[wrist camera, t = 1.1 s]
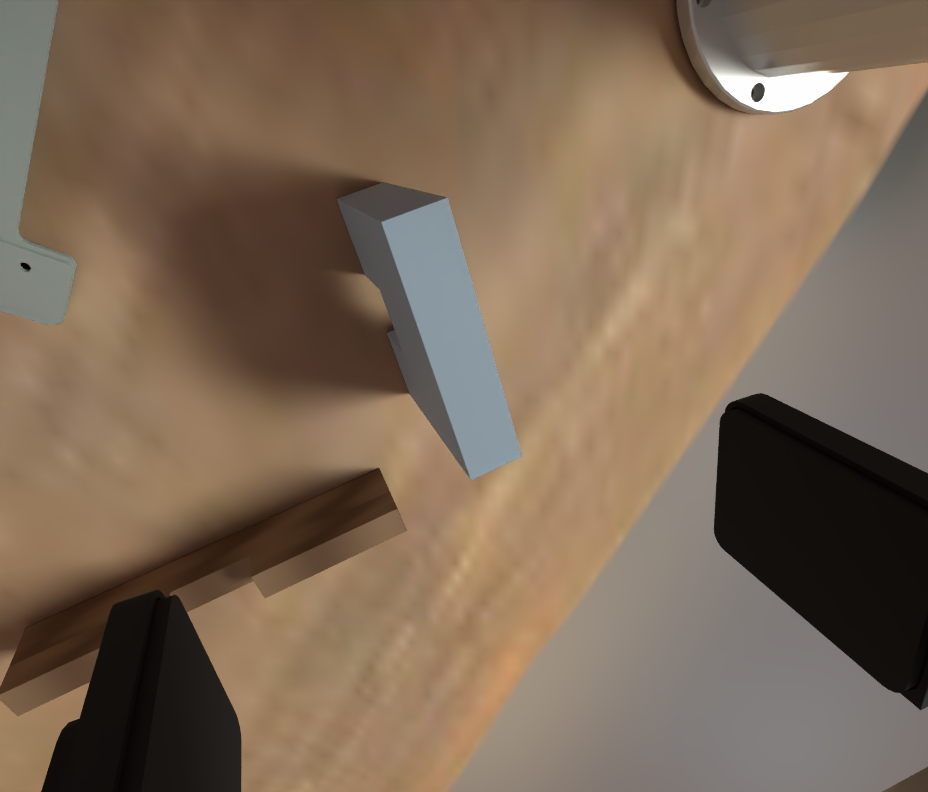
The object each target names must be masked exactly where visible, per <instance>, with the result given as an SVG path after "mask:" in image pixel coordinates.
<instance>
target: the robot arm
mask: <svg viewBox="0 0 928 792" xmlns="http://www.w3.org/2000/svg"><path fill="white" fill-rule="evenodd" d="M676 3H677V15H678V20H679V25H680V30H681V35H682V39H683V43H684V45H685V48H686V50H687V53H688V56H689V58H690V61H691V64H692V66H693V67H694V69H695V70H696V72H697V74H698V75H699V77H700V79H701V80H702V82H703V84H704V85H705V86H706V87H707V88H708V89H709V90H710V91H711V92H712V93H713V94H714V95H715V96H716V97H717V98H718V99H719V100H720V101H722V102H724V103H725V104H727V105H729V106H730V107H732V108H733V109H736V110H739V111H743V112H746V113H749V114H778V113H786V112H792V111H795V110H797V109H800V108H803V107H805V106H808V105H810V104H812V103H813V102H815V101H816V100H818V99H819V98H821V97H823V96H824V95H826V94H827V93H828V92H829V91H831V90H832V89H833V88H834V87H835V86H836V85H837V84H838V83H839V82H840V81H841V80H842V79H843V78H845V76H846V75H847V74H848V73H849V72H851V71H859V70H867V69H876V68H884V67H892V66H900V65H908V64H917V63H925V62H928V0H676ZM714 534H715V537H716V539H717V541H718V543H719V545H720V546H721V547H722V548H723V549H724V550H725V551H726V552H727V553H728V554H729V555H731V556H732V557H733V558H734V559H735V560H736V561H737V562H739V563H740V564H741V565H742V566H743V567H745V568H746V569H747V570H748V571H749V572H750V573H752V574H753V575H754V576H755V577H756V578H757V579H759V580H760V581H761V582H762V583H763V584H765V585H766V586H767V587H768V588H769V589H770V590H772V591H773V592H774V593H775V594H776V595H777V596H779V597H780V598H781V599H782V600H783V601H784V602H786V603H787V604H788V605H789V606H790V607H792V608H793V609H794V610H795V611H796V612H797V613H798V614H800V615H801V616H802V617H803V618H804V619H805V620H807V621H808V622H809V623H810V624H811V625H813V626H814V627H815V628H816V629H817V630H818V631H819V632H821V633H822V634H823V635H824V636H825V637H826V638H828V639H829V640H830V641H831V642H832V643H834V644H835V645H836V646H837V647H838V648H839V649H841V650H842V651H843V652H844V653H845V654H846V655H848V656H849V657H850V658H851V659H852V660H854V661H855V662H856V663H857V664H858V665H859V666H861V667H862V668H863V669H864V670H865V671H866V672H867V673H869V674H870V675H871V676H872V677H873V678H874V679H876V680H877V681H878V682H879V683H880V684H882V685H883V686H884V687H886V688H887V689H888V690H891V691H893V692H897V693H901V694H902V695H903V696H904V697H906V698H907V699H908V700H909V701H910V702H912V703H913V704H914V705H915V706H916V707H917V708H919V709H920V710H922V709H924V708H926V707H928V473H926V472H924V471H922V470H920V469H918V468H916V467H913V466H912V465H909V464H907V463H905V462H903V461H901V460H899V459H897V458H895V457H893V456H891V455H889V454H887V453H885V452H883V451H881V450H879V449H876V448H875V447H873V446H871V445H868V444H866V443H864V442H862V441H860V440H858V439H856V438H854V437H852V436H850V435H848V434H846V433H844V432H842V431H840V430H838V429H836V428H834V427H831V426H829V425H827V424H825V423H823V422H821V421H819V420H817V419H815V418H813V417H811V416H809V415H807V414H805V413H803V412H801V411H799V410H797V409H795V408H793V407H791V406H788V405H787V404H784V403H782V402H780V401H778V400H776V399H774V398H772V397H770V396H768V395H765V394H762V393H760V394H754V395H751V396H748V397H745V398H742V399H739V400H736V401H733V402H731V403H729V404H728V405H727V407H726V409H725V413H724V414H723V415H722V416H721V419H720V428H719V447H718V465H717V483H716V502H715V519H714ZM41 792H241V731H240V726H239V721H238V718H237V715H236V713H235V711H234V709H233V706H232V704H231V702H230V700H229V698H228V696H227V694H226V692H225V690H224V688H223V686H222V684H221V682H220V680H219V678H218V676H217V674H216V672H215V670H214V667H213V665H212V663H211V661H210V659H209V657H208V655H207V653H206V651H205V649H204V647H203V645H202V643H201V641H200V639H199V637H198V635H197V633H196V630H195V628H194V626H193V624H192V622H191V620H190V618H189V616H188V614H187V612H186V610H185V608H184V606H183V604H182V602H181V600H180V598H179V597H178V596H177V595H172V596H169V597H166V598H165V596H164V594H163V593H162V592H161V591H160V590H154V591H151V592H148V593H145V594H142V595H139V596H136V597H133V598H130V599H127V600H124V601H120V602H117V603H115V604H114V605H113V606H112V608H111V610H110V614H109V617H108V621H107V624H106V628H105V631H104V635H103V638H102V642H101V645H100V649H99V652H98V656H97V659H96V663H95V666H94V670H93V673H92V677H91V681H90V684H89V688H88V691H87V695H86V698H85V702H84V705H83V709H82V712H81V716H80V719H77V720H75V721H72V722H69V723H68V724H67V725H66V726H65V727H64V728H63V730H62V731H61V733H60V736H59V738H58V740H57V743H56V746H55V749H54V752H53V755H52V759H51V762H50V765H49V768H48V771H47V775H46V778H45V781H44V784H43V788H42V791H41ZM883 792H928V767H927V768H925V769H923V770H921V771H920V772H918V773H916V774H914V775H912V776H910V777H909V778H907V779H905V780H903V781H901V782H899V783H897V784H896V785H894V786H892V787H890V788H888V789H886V790H885V791H883Z"/></svg>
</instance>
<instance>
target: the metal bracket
mask: <svg viewBox="0 0 928 792" xmlns="http://www.w3.org/2000/svg"><path fill="white" fill-rule="evenodd" d="M58 1H59V0H0V311H2V312H5V313H9V314H12V315H15V316H19V317H22V318H25V319H29V320H32V321H35V322H39V323H42V324H45V325H47V324H59V323H61V322H62V321H63V319H64V317H65V314H66V310H67V305H68V301H69V297H70V293H71V288H72V284H73V280H74V276H75V271H76V267H77V265H76V261H75V260H74V259H73V258H72V257H71V256H69V255H67V254H64V253H61V252H58V251H55V250H52V249H49V248H47V247H44V246H41V245H38V244H35V243H32V242H29V241H27V240H25V239H24V238H22V236H21V235H20V234H19V229H18V228H19V222H20V217H21V211H22V205H23V200H24V194H25V188H26V183H27V177H28V171H29V166H30V160H31V154H32V149H33V143H34V137H35V132H36V126H37V120H38V115H39V109H40V103H41V98H42V92H43V86H44V81H45V75H46V69H47V64H48V58H49V52H50V47H51V41H52V35H53V30H54V24H55V18H56V13H57V7H58ZM22 262H23V263H27V264H29V266H30V267H31V269H30V270H26V269H24V268H22V266H21V264H20V263H22Z"/></svg>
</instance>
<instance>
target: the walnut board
mask: <svg viewBox="0 0 928 792" xmlns="http://www.w3.org/2000/svg"><path fill="white" fill-rule="evenodd" d="M405 531H407V529H406V527H405V525H404V523H403V520H402V518H401V516H400V513H399V511H398V509H397V507H396V504H395V502H394V500H393V498H392V495H391V493H390V491H389V489H388V487H387V484H386V482H385V480H384V478H383V476H382V473H381V471H380V469H377V470H374V471H372V472H370V473H368V474H365V475H363V476H361V477H359V478H357V479H354V480H352V481H350V482H348V483H345V484H343V485H341V486H339V487H337V488H334V489H332V490H330V491H328V492H326V493H323V494H321V495H319V496H317V497H314V498H312V499H310V500H308V501H306V502H303V503H301V504H299V505H297V506H295V507H292V508H290V509H288V510H286V511H283V512H281V513H279V514H277V515H275V516H272V517H270V518H268V519H266V520H264V521H261V522H259V523H257V524H255V525H252V526H250V527H248V528H246V529H244V530H241V531H239V532H237V533H235V534H233V535H230V536H228V537H226V538H224V539H221V540H219V541H217V542H215V543H213V544H210V545H208V546H206V547H204V548H202V549H199V550H197V551H195V552H193V553H190V554H188V555H186V556H184V557H182V558H179V559H177V560H175V561H173V562H171V563H168V564H166V565H164V566H162V567H159V568H157V569H155V570H153V571H151V572H148V573H146V574H144V575H142V576H140V577H137V578H135V579H133V580H131V581H128V582H126V583H124V584H122V585H120V586H117V587H115V588H113V589H111V590H109V591H106V592H104V593H102V594H100V595H97V596H95V597H93V598H91V599H89V600H86V601H84V602H82V603H80V604H78V605H75V606H73V607H71V608H69V609H66V610H64V611H62V612H60V613H58V614H55V615H53V616H51V617H49V618H47V619H44V620H42V621H40V622H38V623H35V624H33V625H31V626H29V627H27V628H26V629H25V631H24V634H23V636H22V638H21V641H20V643H19V645H18V648H17V650H16V652H15V654H14V657H13V659H12V661H11V664H10V666H9V668H8V671H7V673H6V675H5V678H4V680H3V682H2V685H1V687H0V700H1V701H2V702H3V703H4V704H5V705H6V706H7V707H8V708H9V709H10V710H11V711H12V712H14V713H15V714H16V715H17V716H19V715H22V714H24V713H26V712H28V711H30V710H32V709H34V708H36V707H38V706H40V705H42V704H45V703H47V702H49V701H51V700H53V699H55V698H57V697H59V696H61V695H63V694H66V693H68V692H70V691H72V690H74V689H76V688H78V687H80V686H82V685H84V684H86V683H89V682H90V681H91V677H92V673H93V670H94V666H95V663H96V659H97V656H98V652H99V649H100V645H101V642H102V638H103V635H104V631H105V628H106V624H107V621H108V617H109V614H110V610H111V608H112V606H113V605H114V604H115V603H117V602H120V601H124V600H127V599H130V598H133V597H136V596H139V595H142V594H145V593H148V592H151V591H154V590H160V591H161V592H162V593H163V594H164V596H165V598H166V597H169V596H172V595H177V596H178V597H179V598H180V600H181V602H182V604H183V606H184V608H185V610H186V612H188V611H190V610H193V609H195V608H197V607H199V606H201V605H203V604H205V603H208V602H210V601H212V600H214V599H216V598H218V597H220V596H222V595H225V594H227V593H229V592H231V591H233V590H235V589H237V588H239V587H242V586H244V585H246V584H248V583H250V582H252V581H254V582H255V584H256V585H257V587H258V588H259V590H260V591H261V593H262V595H263V596H264V598H267V597H269V596H271V595H273V594H275V593H277V592H279V591H281V590H283V589H286V588H288V587H290V586H292V585H294V584H296V583H298V582H300V581H302V580H304V579H307V578H309V577H311V576H313V575H315V574H317V573H319V572H321V571H323V570H325V569H327V568H330V567H332V566H334V565H336V564H338V563H340V562H342V561H344V560H346V559H348V558H351V557H353V556H355V555H357V554H359V553H361V552H363V551H365V550H367V549H369V548H372V547H374V546H376V545H378V544H380V543H382V542H384V541H386V540H388V539H390V538H392V537H395V536H397V535H399V534H401V533H403V532H405Z"/></svg>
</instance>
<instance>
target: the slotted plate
mask: <svg viewBox="0 0 928 792" xmlns="http://www.w3.org/2000/svg"><path fill="white" fill-rule="evenodd" d="M336 200H337V203H338V205H339V208H340V211H341V213H342V216H343V218H344V221H345V224H346V226H347V229H348V232H349V234H350V237H351V240H352V242H353V245H354V248H355V250H356V253H357V256H358V258H359V261H360V264H361V266H362V269H363V272H364V274H365V276H366V277H367V278H369V279H370V280H371V281H372V282H373V283H374V284H375V285H376V286H377V287H378V288H379V289H380V292H381V294H382V297H383V300H384V303H385V305H386V308H387V311H388V313H389V316H390V319H391V322H392V324H393V327H394V330H393V331H390V332H388V333H387V335H388V338H389V341H390V343H391V346H392V348H393V351H394V354H395V356H396V359H397V362H398V364H399V367H400V370H401V372H402V375H403V378H404V380H405V383H406V386H407V388H408V391H409V394H410V395H411V397H412V398H413V399H414V401H415V402H416V404H417V405H418V406H419V408H420V409H421V411H422V412H423V413H424V415H425V416H426V418H427V419H428V420H429V422H430V423H431V425H432V426H433V428H434V429H435V430H436V432H437V433H438V435H439V436H440V437H441V439H442V440H443V442H444V443H445V444H446V446H447V447H448V449H449V450H450V451H451V453H452V454H453V456H454V457H455V459H456V460H457V461H458V463H459V464H460V466H461V467H462V468H463V470H464V471H465V473H466V474H467V475H468V477H469V478H470V480H473V479H475V478H477V477H479V476H482V475H484V474H486V473H488V472H490V471H492V470H494V469H496V468H499V467H501V466H503V465H505V464H507V463H509V462H511V461H513V460H516V459H518V458H520V457H522V454H521V450H520V447H519V443H518V440H517V436H516V433H515V430H514V426H513V423H512V419H511V416H510V412H509V409H508V405H507V402H506V398H505V395H504V391H503V388H502V384H501V381H500V377H499V374H498V371H497V367H496V364H495V360H494V357H493V353H492V350H491V346H490V343H489V339H488V336H487V332H486V329H485V325H484V322H483V318H482V315H481V312H480V308H479V305H478V301H477V298H476V294H475V291H474V287H473V284H472V280H471V277H470V273H469V270H468V266H467V263H466V259H465V256H464V253H463V249H462V246H461V242H460V239H459V235H458V232H457V228H456V225H455V221H454V218H453V214H452V211H451V207H450V204H449V201H448V198H447V197H443V196H439V195H435V194H430V193H426V192H422V191H418V190H414V189H409V188H405V187H401V186H397V185H393V184H388V183H384V182H382V183H380V184H377V185H374V186H371V187H368V188H366V189H363V190H360V191H357V192H354V193H351V194H349V195H346V196H343V197H340V198H337V199H336Z"/></svg>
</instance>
